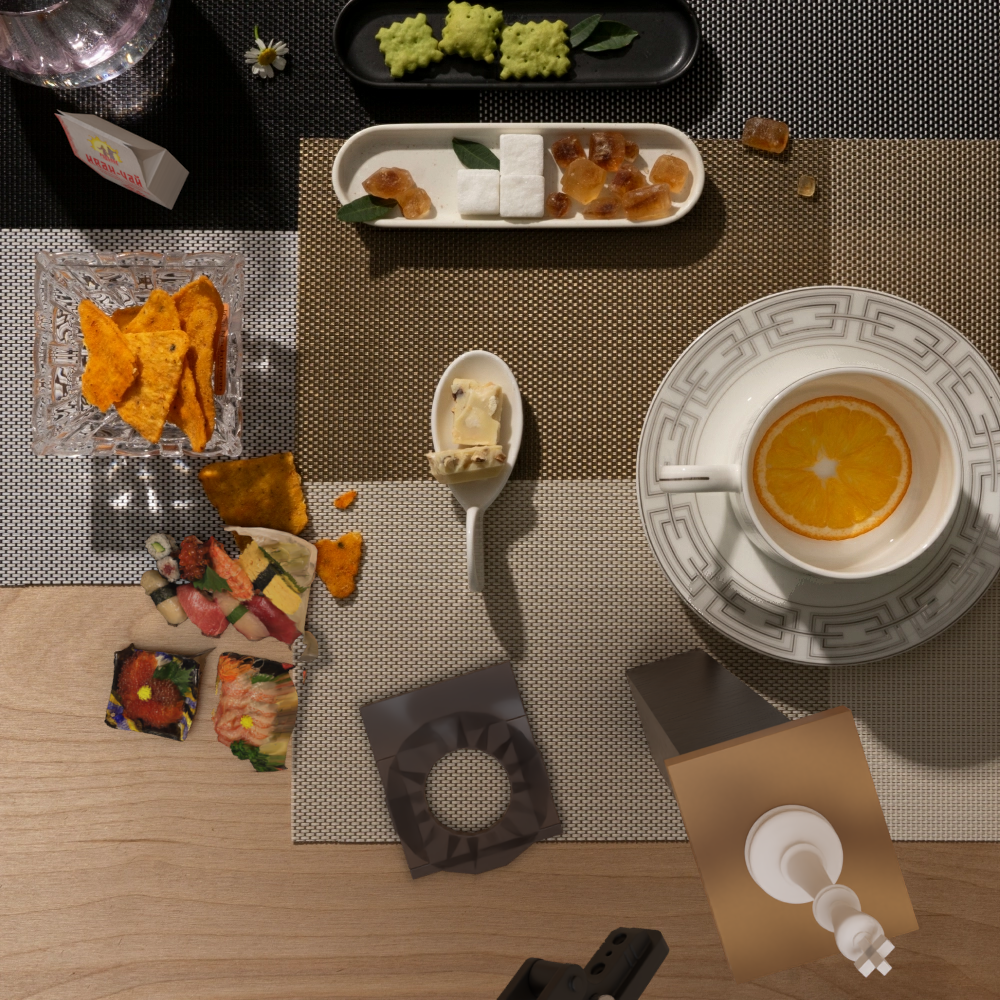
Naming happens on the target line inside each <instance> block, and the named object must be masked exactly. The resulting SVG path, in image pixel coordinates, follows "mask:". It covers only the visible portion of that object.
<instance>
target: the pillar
mask: <svg viewBox="0 0 1000 1000" xmlns="http://www.w3.org/2000/svg"><path fill="white" fill-rule="evenodd" d="M624 673H625V676H626V679H627V682H628V686H629V689H630V692H631V695H632V699H633V702H634V706H635V708H636V713H637V715H638V717H639V721H640V724H641V728H642V731H643V734H644V738H645V740H646V743H647V746H648V749H649V753H650V756H651V758H652V760H653V762H654V763H655V765H656V767H657V769H658V771H659V773H660V775H661V776H662V778H663V780H664V782H665V784H666V785H667V788H668V789H669V791H670V793H671V794H672V797H673V798H674V800H675V802H676V803H677V801H676V798H675V795H674V792H673V789H672V785H671V782H670V779H669V776H668V773H667V769H666V766H665V763H664V760H666V759H669V758H673V757H676V756H679V755H682V754H686V753H689V752H692V751H695V750H699V749H702V748H705V747H708V746H712V745H715V744H718V743H721V742H725V741H728V740H731V739H734V738H738V737H741V736H744V735H747V734H751V733H754V732H757V731H760V730H764V729H767V728H770V727H773V726H777V725H780V724H783V723H786V722H790V721H792V720H791V719H790V718H789V717H788V716H787V715H785V714H784V713H783V712H781V711H780V710H779V709H778V708H776V706H774V705H772V703H770V702H769V701H768V700H766V699H765V698H764V697H763V696H761V695H760V694H759V693H758V692H756V691H755V690H754V689H753V688H752V687H750V686H749V685H747V684H746V683H745V682H744V681H743V680H741V679H740V678H739V677H737V676H736V674H734V673H733V672H732V671H730V670H729V669H727V668H726V667H725V666H723V665H722V664H721V663H720V662H718V660H716V659H715V658H714V657H713V656H711V655H710V654H709V653H707V652H706V651H705V650H703V648H701V647H696V648H693V649H690V650H686V651H683V652H680V653H676V654H674V655H671V656H667V657H664V658H661V659H659V660H655V661H651V662H647V663H645V664H642V665H638V666H635V667H632V668H629V669H626V670H624Z"/></svg>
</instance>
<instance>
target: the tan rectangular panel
mask: <svg viewBox="0 0 1000 1000" xmlns="http://www.w3.org/2000/svg"><path fill="white" fill-rule="evenodd" d="M664 763H665V766H666V769H667V773H668V776H669V779H670V782H671V785H672V789H673V792H674V795H675V798H676V800H675V802H676V801H677V802H676V804H677V808H678V811H679V813H680V817H681V820H682V823H683V827H684V830H685V833H686V837H687V840H688V844H689V846H690V849H691V852H692V855H693V859H694V861H695V865H696V868H697V871H698V874H699V878H700V881H701V884H702V887H703V890H704V891H703V892H704V894H705V897H706V900H707V904H708V907H709V909H710V913H711V916H712V919H713V923H714V926H715V928H716V929H715V930H716V932H717V936H718V938H719V942H720V944H721V948H722V951H723V954H724V957H725V960H726V964H727V967H728V970H729V973H730V976H731V978H732V981H733V982H734V984H735V985H736V986H738V985H741V984H744V983H747V982H751V981H755V980H758V979H761V978H764V977H767V976H771V975H774V974H778V973H780V972H784V971H788V970H790V969H793V968H798V967H800V966H804V965H807V964H810V963H814V962H817V961H819V960H820V961H821V960H823V959H827V958H830V957H833V956H837V955H840V954H842V953H841V952H840V950H839V948H838V946H837V944H836V940H835V935H834V932H831V931H828V930H827V929H825V928H823V927H822V926H821V925H819V923H818V922H817V921H816V919H815V917H814V915H813V909H812V906H813V901H811V902H807V903H801V904H792V903H786V902H783V901H780V900H777V899H775V898H773V897H772V896H770V895H769V894H767V893H766V892H765V891H764V890H763V889H762V888H761V887H760V886H759V885H758V884H757V883H756V882H755V881H754V879H753V878H752V876H751V875H750V873H749V871H748V868H747V865H746V861H745V843H746V839H747V836H748V833H749V831H750V829H751V827H752V826H753V824H754V823H755V822H756V821H757V820H758V819H759V818H760V817H761V816H762V815H763V814H765V813H766V812H768V811H769V810H771V809H774V808H776V807H779V806H784V805H800V806H805V807H808V808H811V809H813V810H815V811H817V812H818V813H820V814H821V815H822V816H823V817H825V818H826V819H827V820H828V822H829V823H830V824H831V825H832V827H833V829H834V830H835V832H836V834H837V835H838V837H839V840H840V842H841V846H842V850H843V865H842V870H841V873H840V875H839V878H838V880H837V881H836V883H835V884H841V885H844V886H847V887H849V888H850V889H851V890H853V891H854V892H855V894H856V895H857V897H858V899H859V902H860V905H861V912H864V913H866V914H868V915H870V916H872V917H873V918H875V919H876V920H877V921H878V922H879V924H880V925H881V927H882V929H883V931H884V936H885V937H886V938H887V939H888V940H890V939H892V938H895V937H898V936H903V935H906V934H909V933H912V932H915V931H919V930H920V926H919V923H918V920H917V917H916V914H915V910H914V907H913V904H912V901H911V897H910V894H909V891H908V888H907V885H906V882H905V878H904V875H903V872H902V869H901V865H900V862H899V859H898V855H897V852H896V850H895V846H894V843H893V840H892V837H891V833H890V830H889V828H888V824H887V821H886V818H885V814H884V811H883V808H882V805H881V801H880V799H879V795H878V792H877V788H876V785H875V782H874V779H873V776H872V772H871V770H870V766H869V763H868V760H867V757H866V754H865V750H864V747H863V744H862V741H861V738H860V734H859V731H858V728H857V725H856V722H855V719H854V716H853V712H852V709H850V708H848V707H846V705H844V704H842V705H839V706H835V707H831V708H829V709H825V710H822V711H819V712H816V713H812V714H810V715H809V714H808V715H806V716H802V717H799V718H796V719H793V720H791V721H790V722H786V723H783V724H780V725H777V726H773V727H770V728H767V729H764V730H760V731H757V732H754V733H751V734H747V735H744V736H741V737H738V738H734V739H731V740H728V741H725V742H721V743H718V744H715V745H712V746H708V747H705V748H702V749H699V750H695V751H692V752H689V753H686V754H682V755H679V756H676V757H673V758H669V759H666V760H664ZM675 798H674V799H675Z"/></svg>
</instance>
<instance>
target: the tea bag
mask: <svg viewBox="0 0 1000 1000" xmlns="http://www.w3.org/2000/svg"><path fill="white" fill-rule="evenodd" d="M57 111H58V112H59V113H60V114H58V113H54V115H55V117H56V118H57V119H58V121H59V122H60V123H59V124H61V126H62V128H63V130H64V133H65V135H66V137H67V140H68V142H69V145H70V147H71V149H72V152H73V154H74V156H76V157H77V158H78V159H79V160H81V161H82V162H83V163H85V164H86V165H87V166H88V167H89V168H90V169H92V170H93V171H95V172H96V173H97V174H98V175H100V176H101V177H102V178H104V179H106V180H108V181H110V182H112V183H115V184H117V185H118V186H121V187H123V188H125V189H127V190H128V191H131V192H133V193H135V194H137V195H140V196H142V197H144V198H146V199H148V200H149V201H152V202H154V203H156V204H158V205H161V206H163V207H165V208H166V209H169V210H172V209H174V205H175V203H176V201H177V200H178V197H179V195H180V192H181V190H182V189H183V186H184V184H185V182H186V181H187V178H188V176H189V174H190V172H189V171H188V169H186V167H184V166H183V165H182V164H181V163H180V162H179V160H178V159H177V158H176V157H175V156H174V155H172V154H171V153H170V152H169V150H167V149H166V148H165V147H162V146H161V145H158V144H156V143H154V142H152V141H150V140H148V139H145V138H144V137H142V136H139V135H137V134H136V133H134V132H131V131H129V130H126V129H125V128H122V127H120V126H118V125H117V124H114V123H112V122H110V121H108V120H106V119H105V118H101V117H99V116H97V115H95V114H88V113H87V114H86V113H71V112H65V111H61V110H59V109H57Z"/></svg>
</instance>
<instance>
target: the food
mask: <svg viewBox="0 0 1000 1000" xmlns="http://www.w3.org/2000/svg"><path fill="white" fill-rule="evenodd" d="M217 526H218V527H220V528H223V530H224V531H227V532H234V531H235V532H236V533H237V534H238V535H239V536H247V537H248V536H249V537H251V540H252V541H251V542H250V544H249V543H247V544H246V547H245V548H244V550H243V552H242V554H241V553H240V554H239V555H238V558H235V559H232V558H231V557H230V556H229V555H228V554H227V552H226V551H227V550H225V544H224V543H223V542H220V541H219V540H217V539H216V537H214V536H213V535H210V537H209V539H208V540H206V541H205V540H204V541H201V539H199V538H198V537H197V536H196V535H195V534H192V535H189V536H188V535H187V536H184V537H183V540H181V542H180V544H179V546H178V545H176V543H177V542H176V539H175V538H174V537H173V536H172V535H171V534H166V533H164V532H155V533H152V534H150V535H149V537H147V539H145V540H144V542H145V544H144V548H145V550H147V553H148V554H149V555H150V557H151V558H152V559H153V560H154V561H155V565H156V569H150V570H147V571H144V572H143V573H142V576H141V577H140V580H139V584H140V586H141V587H142V588H143V589H144V590H145V593H144V595H146V596H148V597H150V599H151V600H152V602H153V604H154V606H155V608H156V610H158V613H160V615H161V616H162V617H163V618H164V620H165V621H166V623H167V625H168V626H170V627H174V628H177V627H178V626H179V625H180V624H182V623H184V622H186V621H187V620H188V619H189V620H190V622H191V623H192V624H193V625H195V626H196V627H197V628H198V629H199V630H200V634H201V635H202V636H203V637H206V638H210V639H211V640H212V639H213V640H215V639H218V640H219V639H221V638H222V637H221V636H222V634H223V632H224V631H225V630H226V629H227V628H228V626H229V624H231V626H233V628H234V629H235V630H236V632H238V633H239V634H241V635H243V637H245V639H246V640H247V641H248V642H260V641H263V640H264V639H267V638H275V639H276V640H277V641H278V642H280V643H281V642H282V643H284V644H286V645H287V646H288V649H289V651H290V652H291V651H292V645H293V644H294V643H295V641H296V640H297V639H298V638H300V636H301V635H303V637H302V645H306V646H305V649H304V650H303V652H302V654H301V655H300V656H299V658H298V659H297V660H296V662H299V663H300V662H302V663H303V662H305V663H306V664H310V663H312V662H314V661H316V660H317V658H318V657H319V643H318V640H317V638H316V637H315V636H314V635H313V633H312V632H311V631H310V630H305V626H306V625H305V624H306V618H307V613H308V606H309V599H310V593H311V587H312V586H311V585H312V583H313V582H314V581H315V577H316V569H317V561H318V549H317V547H316V545H315V544H313V543H311V542H310V541H307V540H305V539H304V538H302V537H300V536H297V535H295V534H293V533H291V532H287V531H283V530H278V529H273V528H267V527H241V526H239V525H226V524H225V525H224V524H217ZM181 580H183V581H186V582H187V583H183V584H177V582H178V581H181ZM261 592H262V594H263V595H260V593H261ZM133 644H134V643H133V642H131V643H130V644H129V645H128V646H127V647H125V648H123V649H121V650H116V651H114V652H113V654H114V656H113V661H112V662H113V676H112V682H111V689H110V694H109V698H108V702H107V707H106V709H105V718H104V721H103V722H104V724H105V725H106V726H107V727H108V728H111V729H113V730H120V731H129V732H136V733H144V734H148V735H153V736H157V737H161V738H165V739H168V740H174V741H178V742H181V743H182V742H183V743H184V742H185V741H186V739H187V738H188V734H189V732H190V730H191V728H192V725H193V721H194V718H195V717H196V712H197V710H198V708H197V704H198V697H199V687H200V682H201V676H202V675H203V674H204V668H205V666H206V665H205V664H207V663H206V662H207V658H208V656H209V655H211V653H213V651H214V650H216V647H213V648H211V649H207V650H204V651H201V652H198V653H195V654H191V655H190V654H180V653H179V654H178V653H169V652H164V651H151V650H150V651H149V650H148V651H147V650H143V649H136V648H135V646H134V645H133ZM296 668H297V665H296V664H293V663H288V662H283V661H282V662H281V661H277V660H273V659H269V658H266V657H259V656H258V657H257V656H253V655H247V654H241V653H238V652H234V651H224V652H221V654H219V658H218V662H217V665H216V676H215V686H214V691H215V693H214V694H215V696H217V695H218V693H219V692H218V691H219V690H218V689H219V685H220V683H221V686H220V694H219V698H218V701H219V702H218V703H217V706H216V711H215V707H213V708H212V711H211V712H210V714H211V717H210V718H211V721H212V723H213V730H214V732H215V733H216V734H217V742H218V743H220V744H223V745H225V746H226V747H228V748H229V749H230V751H231V753H232V755H233V756H234V757H237V759H238V760H240V761H245V760H246V761H247V760H249V763H250V764H251V765H252V768H253V769H254V770H256V771H255V773H273V772H280V771H285V770H288V769H289V768H288V767H287V766H286V759H287V754H288V745H289V742H290V740H291V737H292V734H293V732H294V729H295V727H296V722H297V716H298V712H299V711H298V710H299V696H298V691H297V688H296V686H295V683H294V681H293V679H292V677H291V674H290V670H294V669H296ZM307 677H308V669H307V668H306V667H305V666H303V670H302V679H303V680H302V686H305V684H306V681H307ZM302 690H304V688H303V687H302ZM112 714H114V716H112ZM250 772H252V771H250Z"/></svg>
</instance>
